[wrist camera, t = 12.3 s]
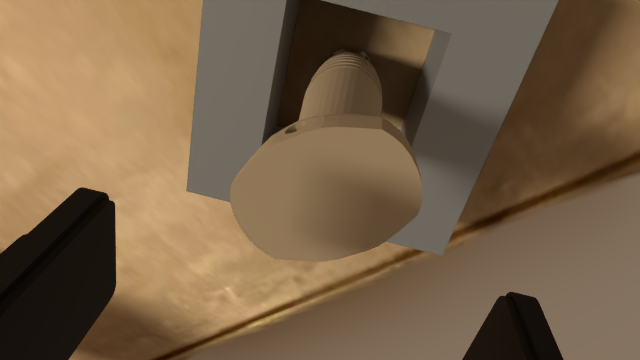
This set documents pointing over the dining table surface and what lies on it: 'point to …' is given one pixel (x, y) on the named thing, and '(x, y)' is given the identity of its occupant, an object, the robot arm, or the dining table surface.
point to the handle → (330, 172)
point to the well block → (424, 111)
